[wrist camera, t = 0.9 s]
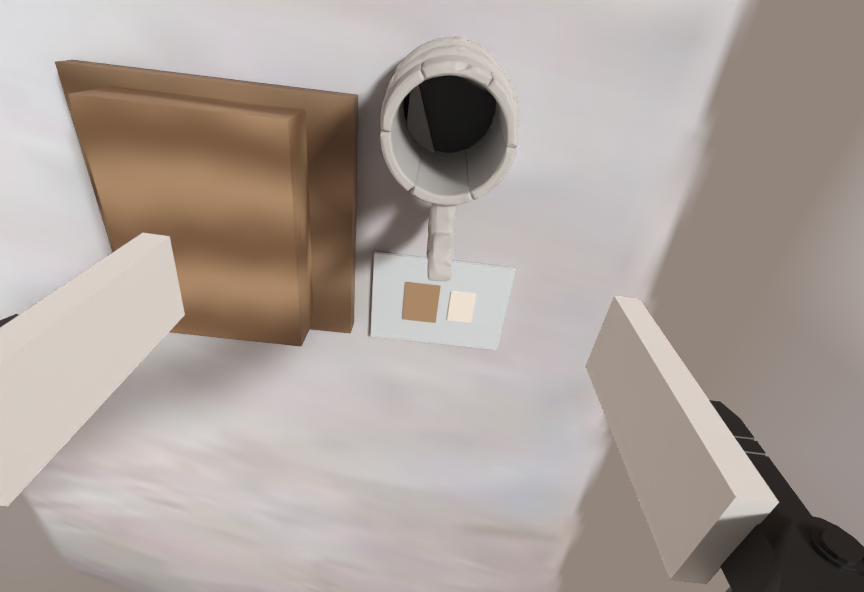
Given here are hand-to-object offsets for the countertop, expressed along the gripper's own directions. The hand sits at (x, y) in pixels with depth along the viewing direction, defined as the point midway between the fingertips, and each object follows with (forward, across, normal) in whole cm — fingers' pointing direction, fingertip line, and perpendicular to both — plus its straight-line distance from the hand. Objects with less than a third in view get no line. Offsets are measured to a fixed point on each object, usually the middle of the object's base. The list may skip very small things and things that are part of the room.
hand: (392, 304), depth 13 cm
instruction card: (+20, +3, -12) cm, 23 cm away
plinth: (+20, -14, -6) cm, 25 cm away
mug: (+20, +1, +1) cm, 20 cm away
